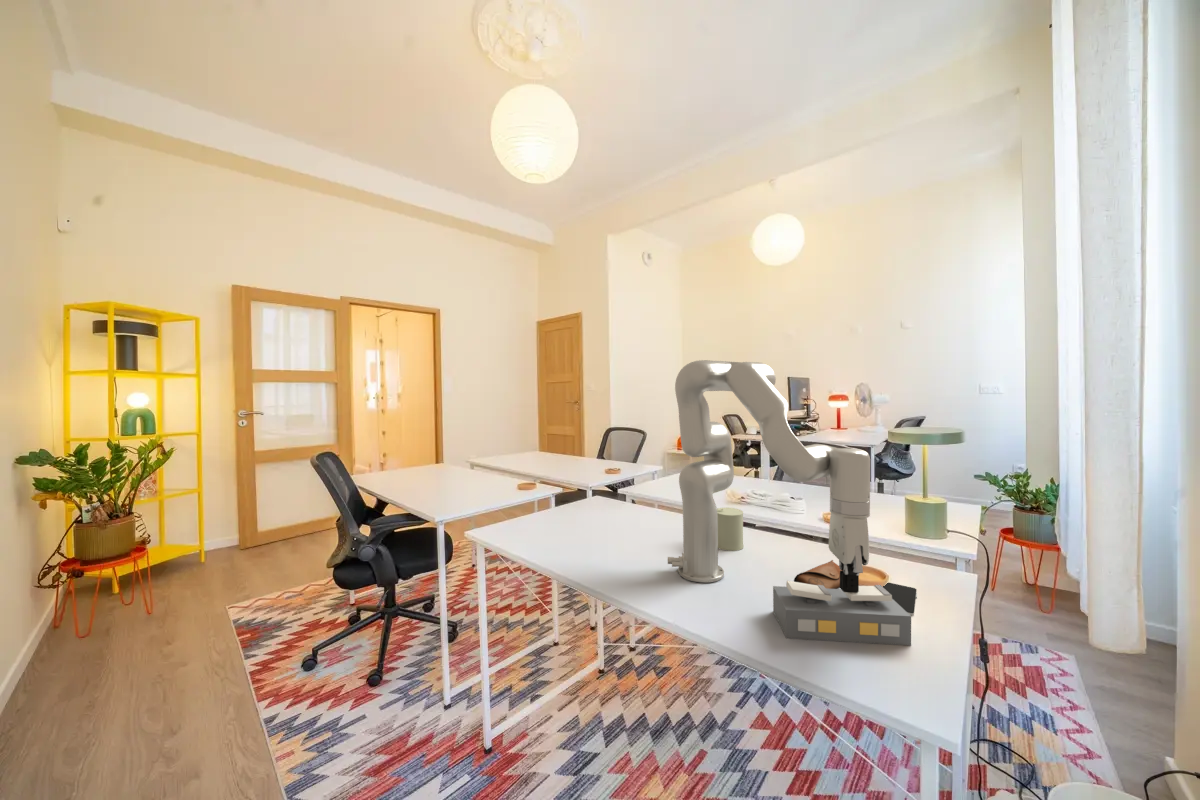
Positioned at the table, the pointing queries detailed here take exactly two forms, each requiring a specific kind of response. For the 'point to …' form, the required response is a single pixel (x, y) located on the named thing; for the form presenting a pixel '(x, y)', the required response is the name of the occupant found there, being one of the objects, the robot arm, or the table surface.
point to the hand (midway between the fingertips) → (849, 590)
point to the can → (730, 529)
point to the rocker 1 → (808, 590)
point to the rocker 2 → (870, 594)
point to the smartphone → (903, 596)
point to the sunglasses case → (821, 576)
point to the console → (841, 618)
